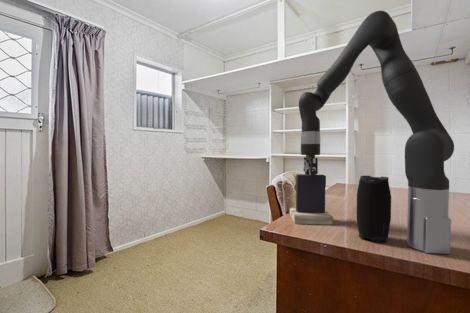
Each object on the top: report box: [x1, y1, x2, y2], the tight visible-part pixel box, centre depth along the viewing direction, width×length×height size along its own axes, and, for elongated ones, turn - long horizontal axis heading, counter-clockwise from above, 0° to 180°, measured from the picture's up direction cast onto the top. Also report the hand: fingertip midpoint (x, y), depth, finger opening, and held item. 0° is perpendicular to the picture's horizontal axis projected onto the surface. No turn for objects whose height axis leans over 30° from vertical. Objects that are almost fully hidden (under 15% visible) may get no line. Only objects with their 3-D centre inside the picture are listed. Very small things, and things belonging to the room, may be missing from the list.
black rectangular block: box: [295, 173, 327, 213], centre depth 99 cm, size 11×4×15 cm, turn 85°
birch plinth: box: [289, 206, 334, 226], centre depth 100 cm, size 14×14×3 cm
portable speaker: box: [356, 175, 392, 244], centre depth 77 cm, size 9×9×20 cm
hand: (310, 183), depth 99 cm, fingers open, 8 cm apart
